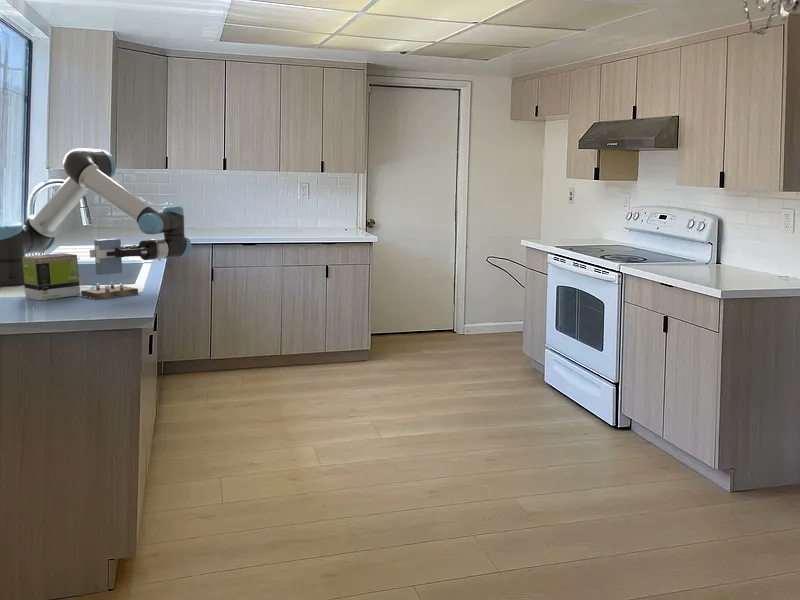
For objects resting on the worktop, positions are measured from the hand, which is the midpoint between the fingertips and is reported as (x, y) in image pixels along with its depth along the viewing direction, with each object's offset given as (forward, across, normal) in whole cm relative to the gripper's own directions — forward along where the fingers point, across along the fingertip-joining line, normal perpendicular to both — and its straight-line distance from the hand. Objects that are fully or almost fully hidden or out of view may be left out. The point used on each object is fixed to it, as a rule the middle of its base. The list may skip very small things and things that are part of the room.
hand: (93, 254), depth 266 cm
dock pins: (-5, 0, -13) cm, 14 cm away
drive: (-5, 0, -7) cm, 9 cm away
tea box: (+10, +11, -15) cm, 21 cm away
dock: (-5, 0, -15) cm, 16 cm away
